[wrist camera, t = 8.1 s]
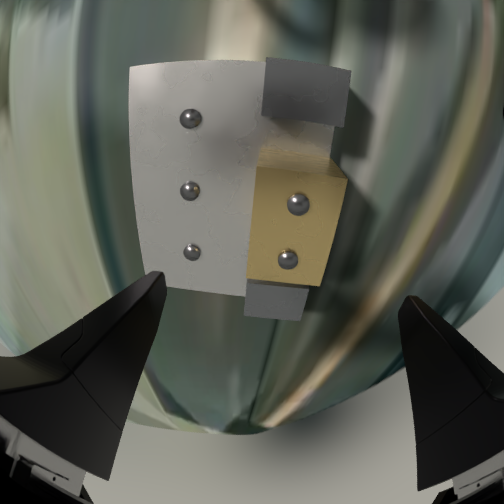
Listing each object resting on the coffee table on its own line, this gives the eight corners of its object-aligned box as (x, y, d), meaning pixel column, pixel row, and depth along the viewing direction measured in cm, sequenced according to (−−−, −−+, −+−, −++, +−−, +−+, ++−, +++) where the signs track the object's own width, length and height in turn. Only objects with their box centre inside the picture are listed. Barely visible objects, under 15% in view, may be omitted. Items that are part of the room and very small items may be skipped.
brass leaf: (330, 158, 14) (349, 180, 11) (312, 246, 18) (320, 288, 14) (260, 148, 15) (256, 167, 11) (251, 239, 18) (245, 280, 14)
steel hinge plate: (336, 74, 13) (351, 70, 10) (298, 291, 21) (300, 320, 19) (138, 67, 13) (112, 66, 10) (152, 274, 22) (138, 300, 19)
